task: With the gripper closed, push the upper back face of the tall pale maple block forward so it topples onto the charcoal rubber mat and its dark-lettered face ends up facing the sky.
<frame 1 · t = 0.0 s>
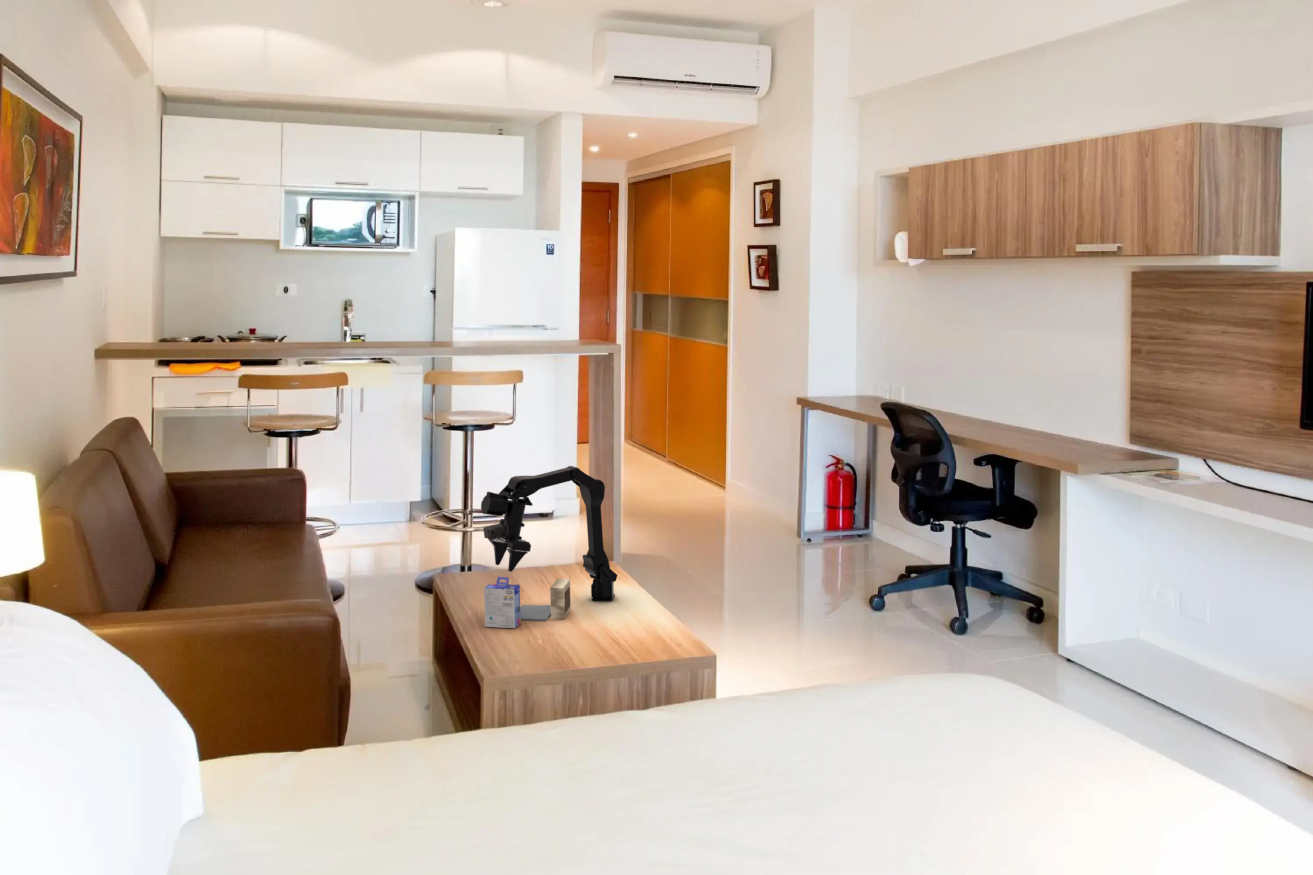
hand: (503, 568, 355), 15 cm above the table, tool pointing down, fingers open, 9 cm apart
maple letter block: (561, 614, 359), on the table
ink cartridge box: (503, 625, 349), on the table
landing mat: (534, 613, 360), on the table
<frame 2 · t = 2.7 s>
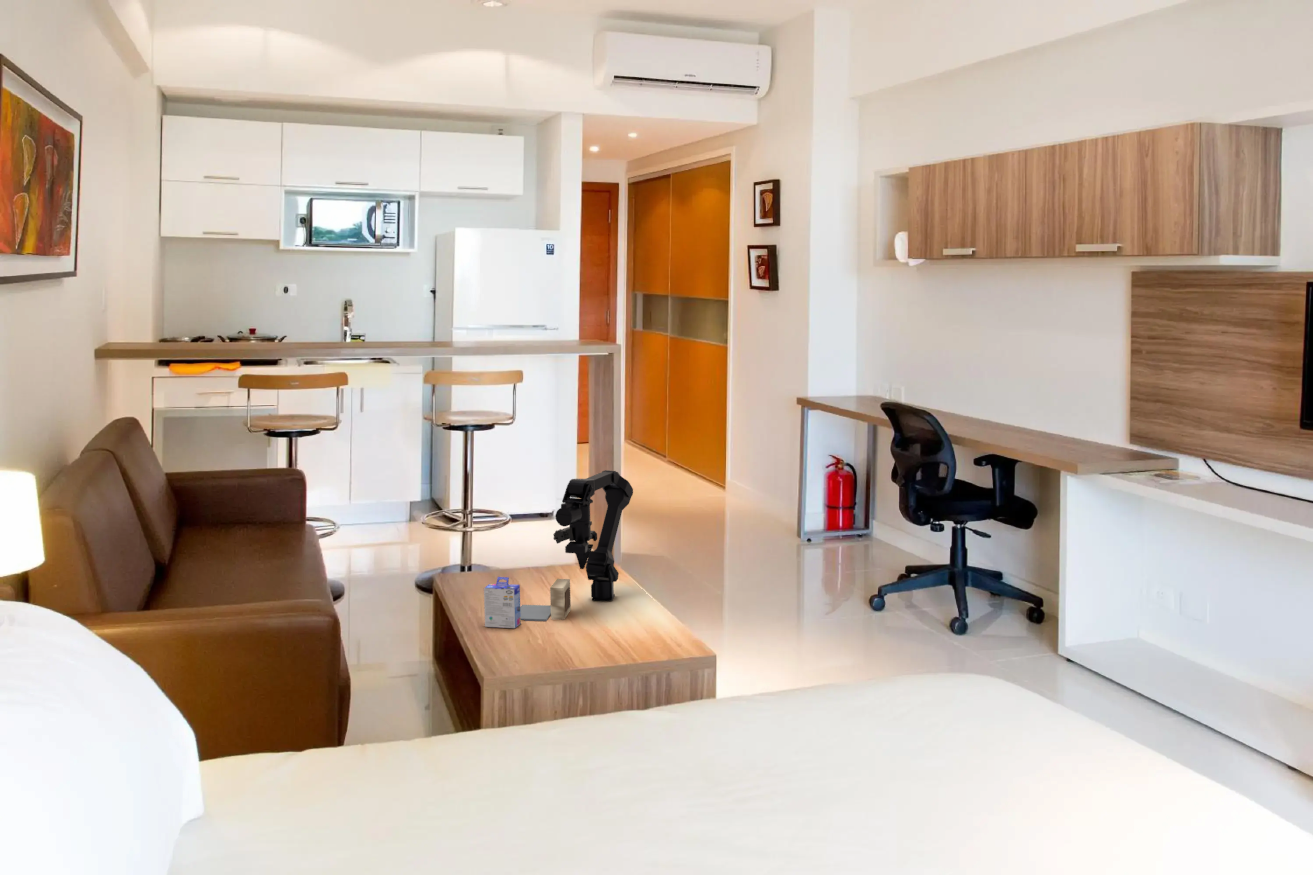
hand: (582, 568, 362), 13 cm above the table, tool pointing down, fingers closed
nothing on the table moved.
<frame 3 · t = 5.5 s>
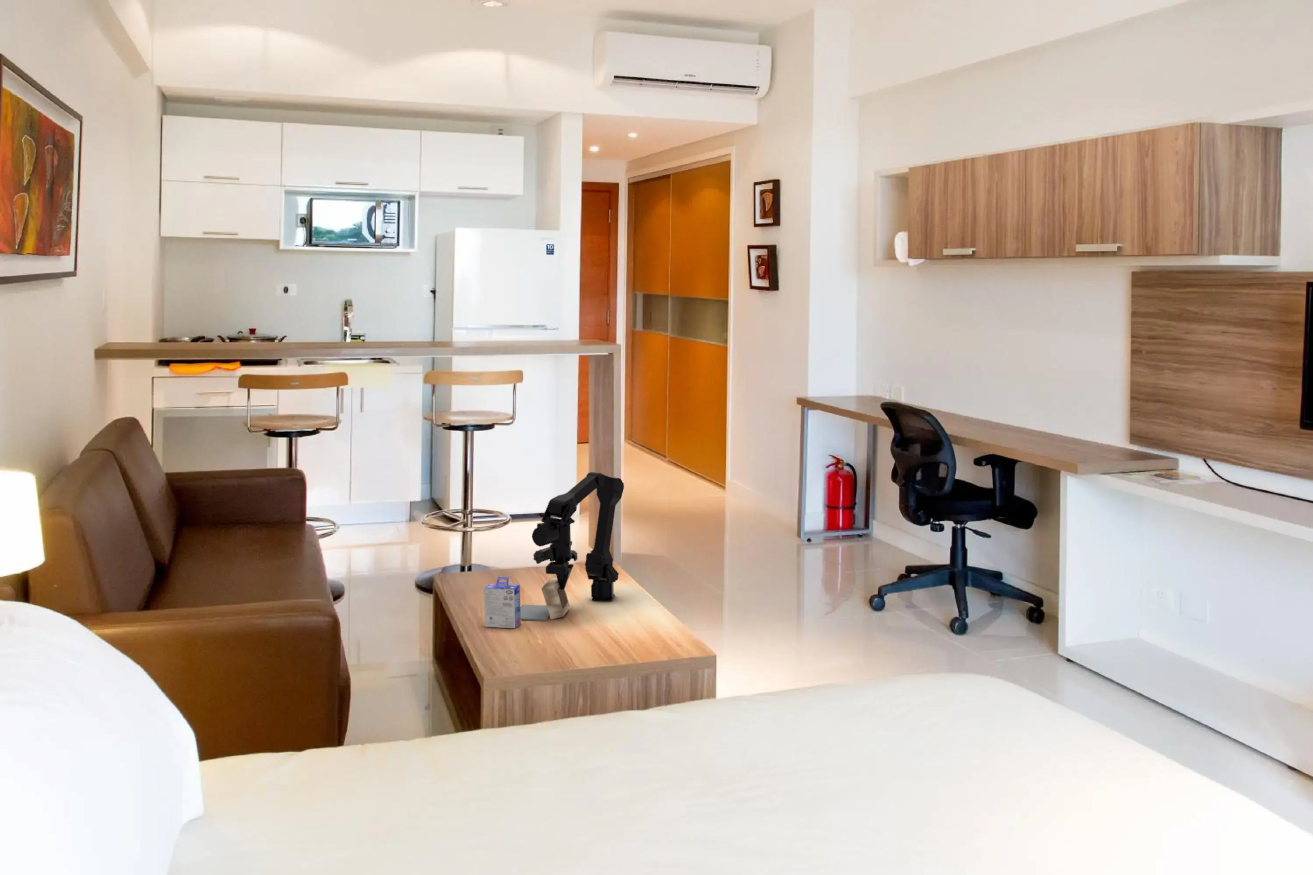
hand: (562, 589, 358), 8 cm above the table, tool pointing down, fingers closed
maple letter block: (560, 612, 359), on the table, tilted 16°
everything else where it was.
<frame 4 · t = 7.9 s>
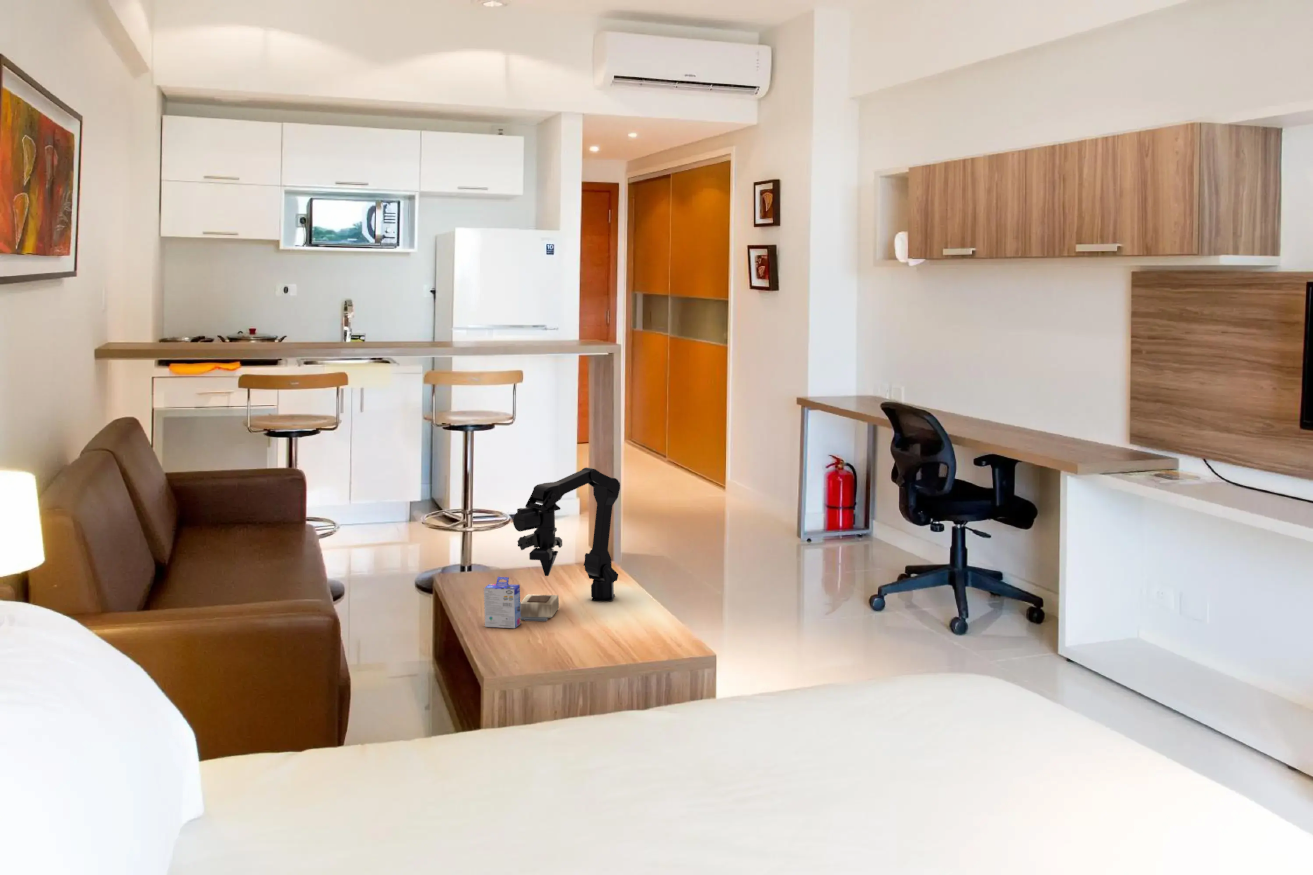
hand: (546, 575, 358), 12 cm above the table, tool pointing down, fingers closed
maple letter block: (555, 606, 359), point 3 cm above the table, tilted 90°, touching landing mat
everything else where it was.
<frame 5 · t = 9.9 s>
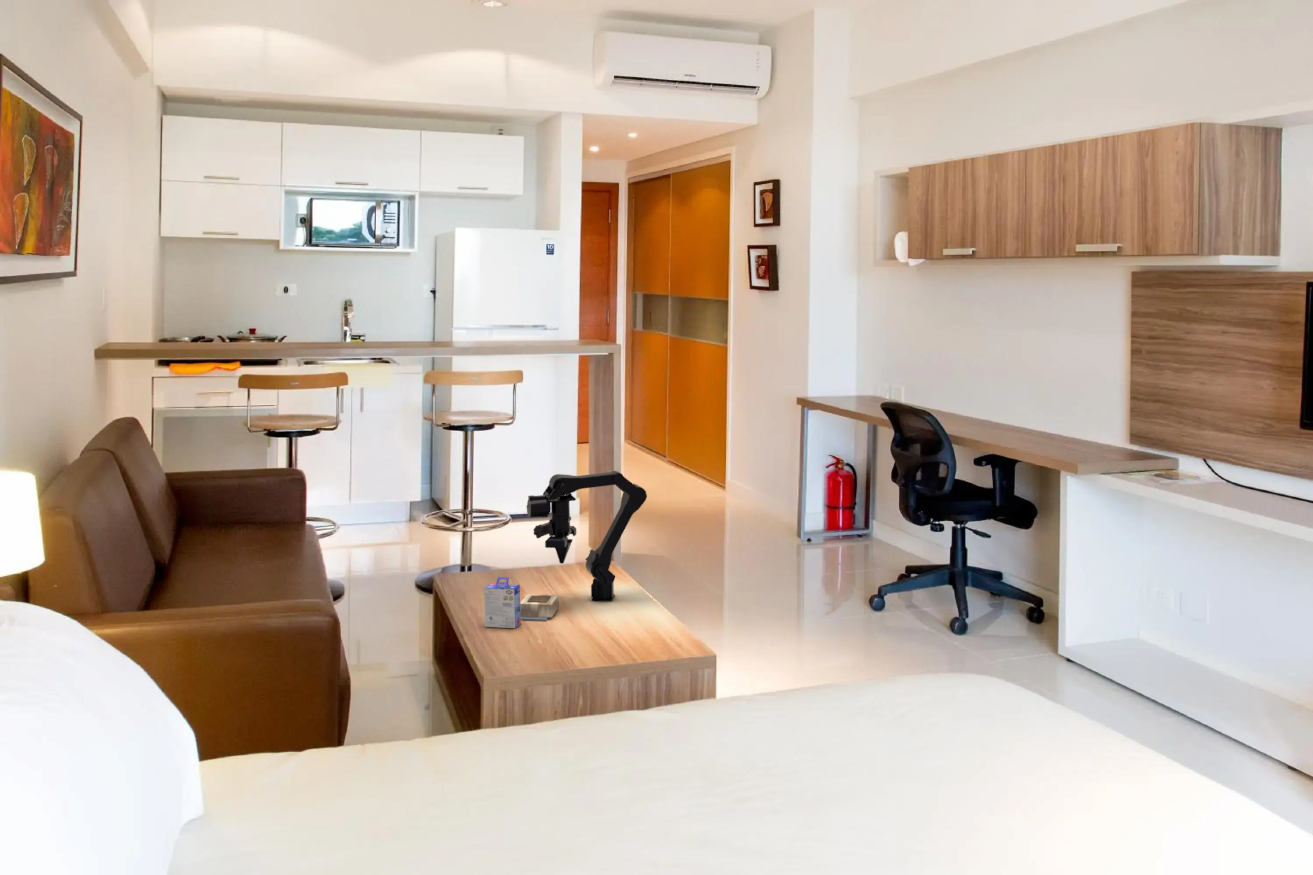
hand: (561, 563, 369), 13 cm above the table, tool pointing down, fingers closed
nothing on the table moved.
at the end: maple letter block tilted 90°; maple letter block touching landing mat; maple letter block inside the target area (2.2 cm from its centre), point 2.6 cm above the table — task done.
